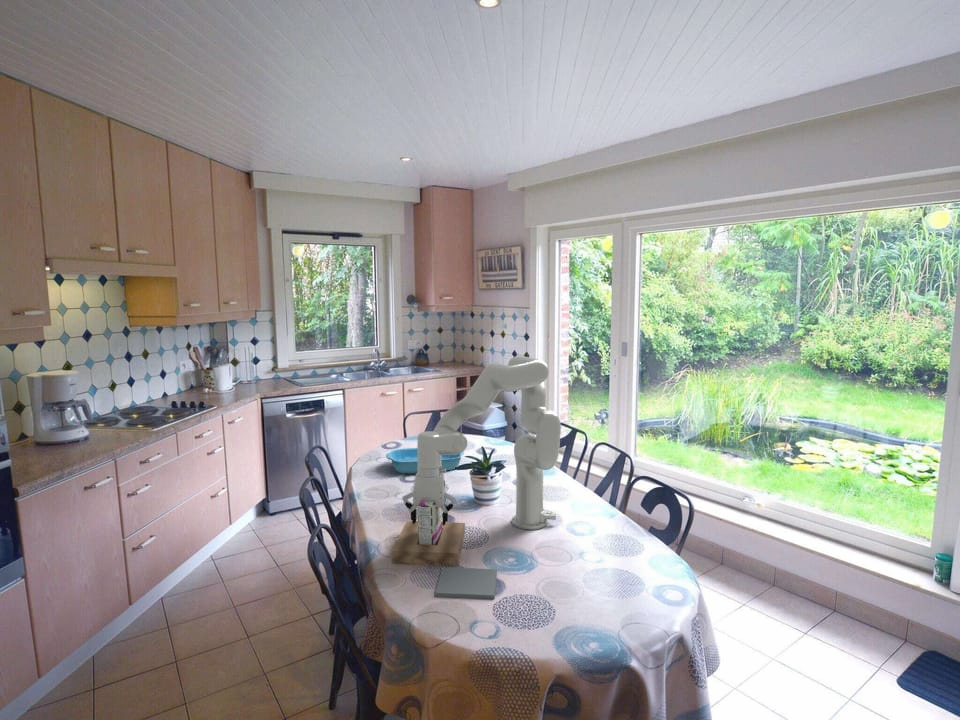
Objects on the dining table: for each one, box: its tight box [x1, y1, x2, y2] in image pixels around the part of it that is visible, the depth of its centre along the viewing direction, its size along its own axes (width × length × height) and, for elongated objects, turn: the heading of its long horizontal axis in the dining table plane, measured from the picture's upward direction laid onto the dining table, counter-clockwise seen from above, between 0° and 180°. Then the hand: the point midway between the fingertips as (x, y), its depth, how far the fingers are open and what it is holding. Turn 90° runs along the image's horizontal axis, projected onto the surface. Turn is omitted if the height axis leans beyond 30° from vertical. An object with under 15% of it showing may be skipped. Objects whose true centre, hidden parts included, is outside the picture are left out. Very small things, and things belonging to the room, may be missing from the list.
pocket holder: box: [391, 520, 466, 567], centre depth 175 cm, size 20×22×4 cm
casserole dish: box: [385, 447, 465, 474], centre depth 257 cm, size 37×22×7 cm, turn 105°
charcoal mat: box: [434, 566, 498, 600], centre depth 154 cm, size 16×14×1 cm
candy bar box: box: [417, 502, 443, 545], centre depth 175 cm, size 11×5×16 cm, turn 168°
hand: (429, 522), depth 174 cm, fingers open, 9 cm apart
